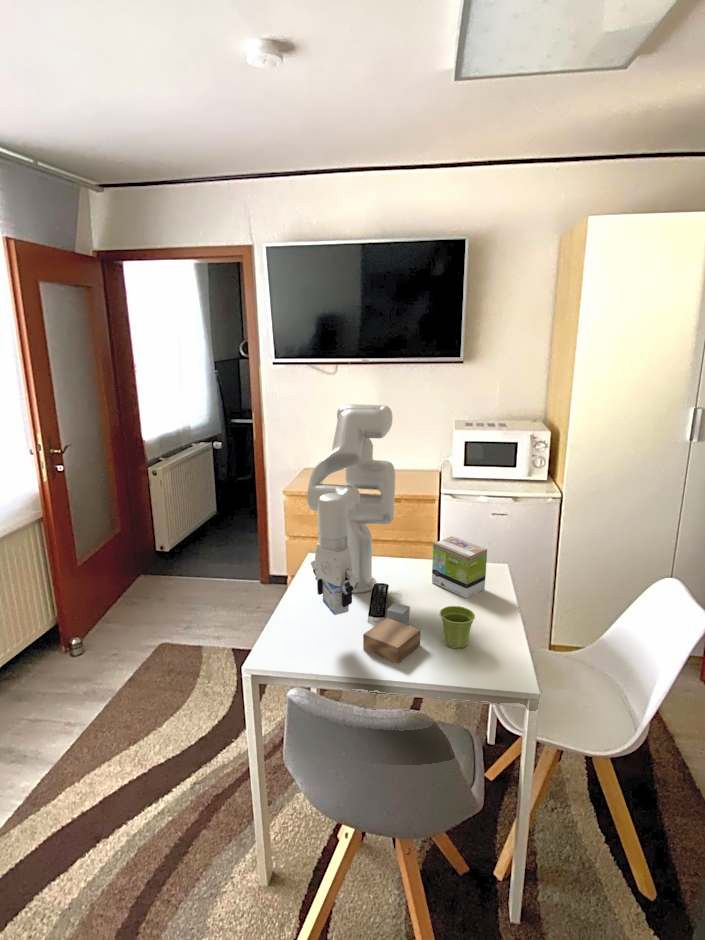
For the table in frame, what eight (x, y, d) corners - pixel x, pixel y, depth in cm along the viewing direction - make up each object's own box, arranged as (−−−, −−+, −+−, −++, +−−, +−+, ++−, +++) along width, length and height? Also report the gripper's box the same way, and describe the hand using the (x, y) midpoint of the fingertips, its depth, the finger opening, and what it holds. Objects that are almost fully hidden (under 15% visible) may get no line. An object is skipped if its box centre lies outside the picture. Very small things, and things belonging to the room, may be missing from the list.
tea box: (430, 583, 192) (432, 542, 189) (450, 575, 199) (451, 535, 195) (466, 599, 181) (468, 556, 177) (485, 590, 187) (488, 547, 184)
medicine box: (322, 602, 159) (321, 574, 156) (337, 598, 160) (336, 570, 158) (334, 616, 152) (333, 586, 149) (349, 611, 154) (348, 583, 151)
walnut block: (363, 650, 154) (363, 634, 153) (386, 633, 162) (386, 617, 161) (397, 665, 147) (398, 647, 146) (420, 646, 156) (420, 630, 154)
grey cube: (386, 625, 166) (386, 609, 165) (393, 617, 170) (394, 602, 169) (402, 629, 164) (402, 613, 162) (409, 621, 168) (409, 606, 167)
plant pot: (446, 630, 163) (447, 602, 161) (478, 639, 158) (479, 610, 156) (433, 645, 155) (434, 617, 153) (466, 655, 151) (467, 626, 149)
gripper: (300, 535, 153) (303, 593, 158) (346, 554, 142) (347, 616, 147) (321, 527, 158) (322, 583, 163) (367, 545, 147) (367, 604, 152)
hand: (334, 598), depth 155 cm, fingers closed on medicine box, 9 cm apart
